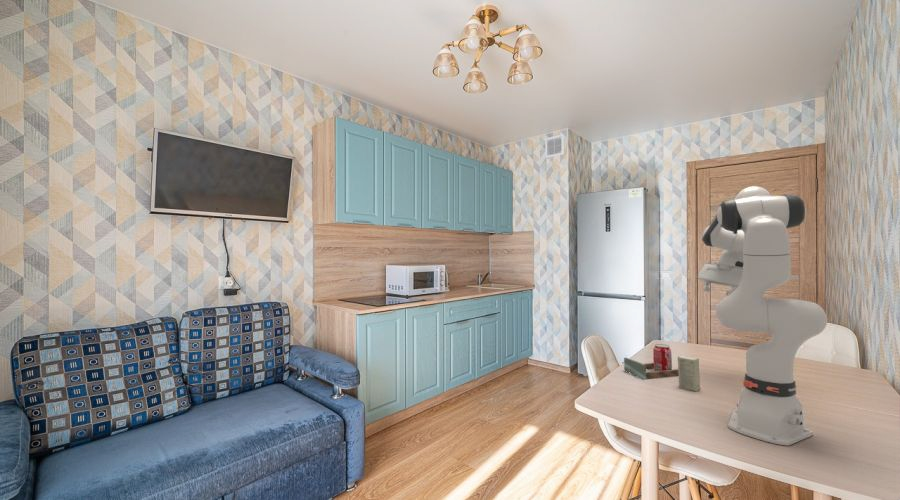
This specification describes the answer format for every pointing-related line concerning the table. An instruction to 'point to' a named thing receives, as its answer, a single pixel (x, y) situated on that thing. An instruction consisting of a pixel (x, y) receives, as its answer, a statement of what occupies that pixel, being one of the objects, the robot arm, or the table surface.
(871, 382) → the table surface
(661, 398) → the table surface
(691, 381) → the skincare box
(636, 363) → the can dock
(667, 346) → the soda can
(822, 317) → the robot arm
